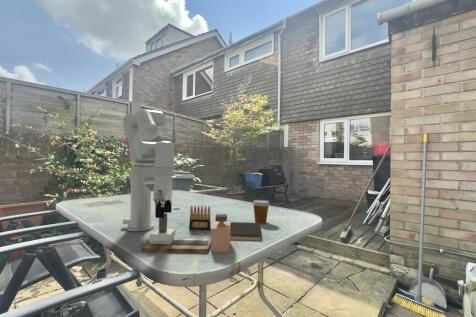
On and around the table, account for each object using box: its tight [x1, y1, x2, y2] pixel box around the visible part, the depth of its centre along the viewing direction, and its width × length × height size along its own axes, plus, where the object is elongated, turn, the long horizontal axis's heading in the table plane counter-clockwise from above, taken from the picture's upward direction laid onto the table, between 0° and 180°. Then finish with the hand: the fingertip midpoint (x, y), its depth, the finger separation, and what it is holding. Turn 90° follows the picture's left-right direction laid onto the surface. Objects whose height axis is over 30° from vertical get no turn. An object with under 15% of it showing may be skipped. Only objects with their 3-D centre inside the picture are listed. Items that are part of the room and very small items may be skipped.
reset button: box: [214, 213, 228, 226], centre depth 95 cm, size 4×4×5 cm
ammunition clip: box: [188, 204, 212, 231], centre depth 119 cm, size 11×2×12 cm, turn 88°
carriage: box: [149, 213, 176, 244], centre depth 95 cm, size 8×7×11 cm
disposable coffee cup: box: [252, 199, 270, 224], centre depth 135 cm, size 10×10×12 cm
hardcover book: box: [230, 221, 262, 241], centre depth 116 cm, size 16×23×2 cm
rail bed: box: [141, 237, 211, 254], centre depth 95 cm, size 25×12×3 cm, turn 90°
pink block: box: [210, 221, 232, 253], centre depth 95 cm, size 7×10×9 cm
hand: (163, 215), depth 95 cm, fingers open, 9 cm apart
